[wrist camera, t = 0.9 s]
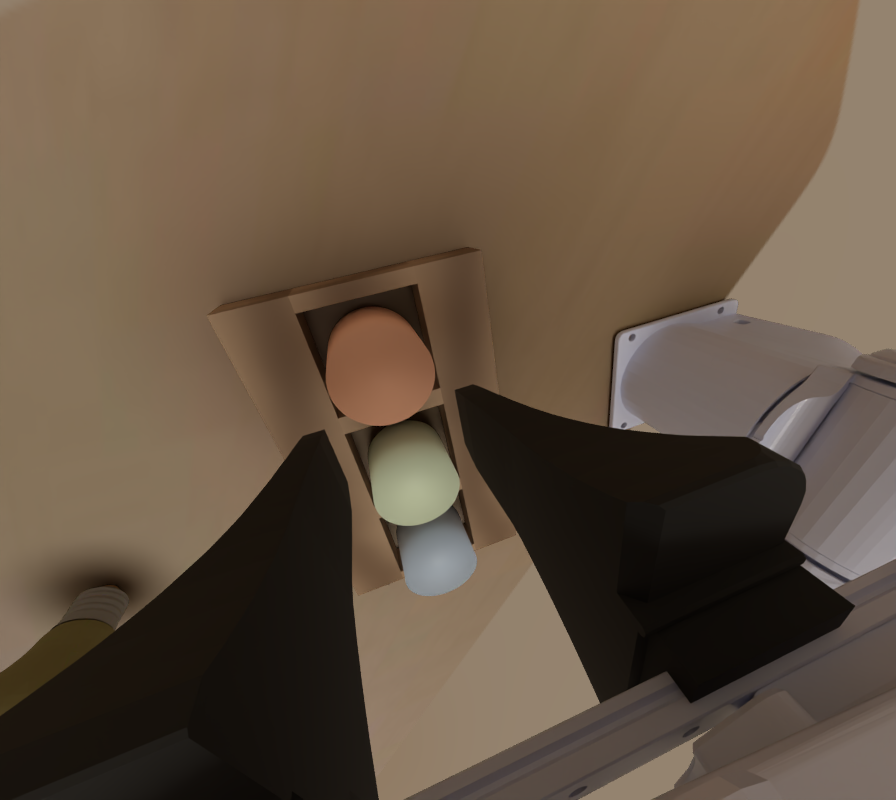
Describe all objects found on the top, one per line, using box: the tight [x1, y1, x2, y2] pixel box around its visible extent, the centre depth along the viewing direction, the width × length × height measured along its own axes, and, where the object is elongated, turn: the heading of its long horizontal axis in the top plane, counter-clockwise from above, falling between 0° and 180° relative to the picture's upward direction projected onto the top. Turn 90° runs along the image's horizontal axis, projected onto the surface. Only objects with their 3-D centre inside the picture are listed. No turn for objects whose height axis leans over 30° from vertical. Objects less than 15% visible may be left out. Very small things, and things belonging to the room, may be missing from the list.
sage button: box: [368, 420, 460, 526], centre depth 19 cm, size 4×4×4 cm
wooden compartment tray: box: [207, 247, 516, 596], centre depth 21 cm, size 12×20×2 cm, turn 10°
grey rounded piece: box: [396, 505, 477, 596], centre depth 22 cm, size 4×4×4 cm
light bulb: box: [0, 585, 129, 716], centre depth 16 cm, size 6×6×10 cm
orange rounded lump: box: [326, 306, 435, 426], centre depth 16 cm, size 4×4×4 cm
